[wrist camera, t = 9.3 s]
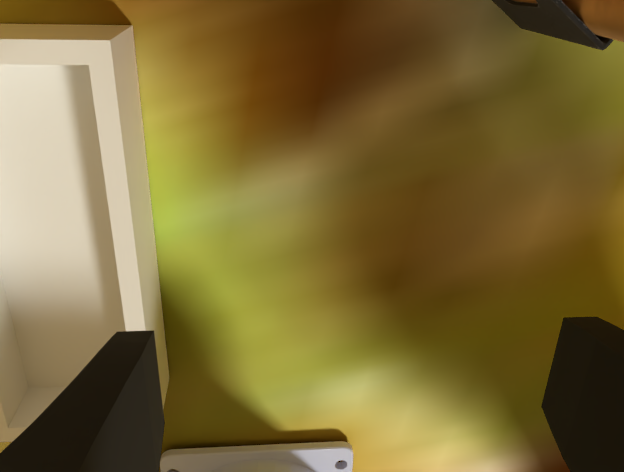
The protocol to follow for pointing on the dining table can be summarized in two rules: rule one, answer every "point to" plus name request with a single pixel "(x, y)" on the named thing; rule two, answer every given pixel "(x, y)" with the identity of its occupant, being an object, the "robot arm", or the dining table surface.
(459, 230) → the dining table surface
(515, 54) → the dining table surface
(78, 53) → the trough tray
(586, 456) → the robot arm
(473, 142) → the dining table surface
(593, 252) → the dining table surface
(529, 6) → the ammunition clip
